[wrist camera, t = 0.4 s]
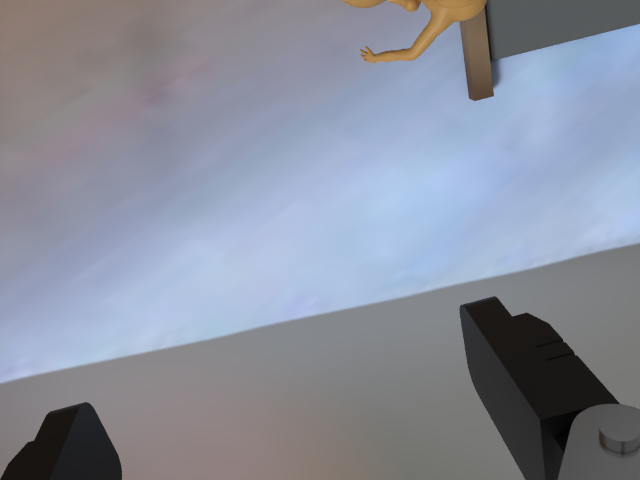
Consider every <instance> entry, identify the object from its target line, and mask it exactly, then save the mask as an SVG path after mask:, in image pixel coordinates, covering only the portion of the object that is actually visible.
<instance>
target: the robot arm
mask: <svg viewBox="0 0 640 480" xmlns="http://www.w3.org/2000/svg"><path fill="white" fill-rule="evenodd" d="M460 318H461V325H462V331H463V338H464V344H465V351H466V357H467V363H468V368H469V372H470V375H471V379H472V382H473V384H474V387H475V389H476V391H477V393H478V395H479V397H480V399H481V401H482V402H483V404H484V406H485V408H486V410H487V411H488V413H489V415H490V417H491V419H492V420H493V422H494V424H495V426H496V427H497V429H498V431H499V433H500V434H501V436H502V438H503V440H504V442H505V444H506V445H507V447H508V449H509V451H510V452H511V454H512V456H513V458H514V460H515V462H516V463H517V465H518V467H519V469H520V470H521V472H522V474H523V476H524V478H525V479H526V480H640V409H638V408H635V407H631V406H627V405H621V404H620V403H619V402H618V401H617V400H616V399H615V398H614V396H613V395H612V394H611V393H610V392H609V391H608V390H607V389H606V388H605V386H604V385H603V384H602V383H601V382H600V381H599V380H598V379H597V377H596V376H595V375H594V374H593V373H592V372H591V371H590V370H589V368H588V367H587V366H586V365H585V364H584V363H583V362H582V360H581V359H580V358H579V357H578V356H575V354H574V352H573V350H572V349H571V348H570V347H569V346H568V345H567V344H566V343H564V342H563V339H562V338H561V337H560V336H559V334H558V333H557V332H556V331H555V330H554V329H553V328H552V327H551V325H550V324H548V323H547V322H545V321H542V320H541V319H539V318H537V317H534V316H533V315H531V314H529V313H524V314H521V315H517V316H513V317H512V316H511V315H510V313H509V312H508V311H507V310H506V309H505V307H504V306H503V305H502V303H501V302H500V301H499V299H498V298H497V297H495V296H494V297H490V298H486V299H482V300H478V301H475V302H471V303H467V304H464V305H461V306H460ZM0 480H122V470H121V463H120V460H119V456H118V454H117V452H116V450H115V448H114V446H113V444H112V442H111V440H110V439H109V437H108V435H107V433H106V431H105V429H104V427H103V425H102V423H101V421H100V419H99V417H98V415H97V413H96V411H95V409H94V408H93V407H92V405H91V404H89V403H87V402H85V403H81V404H77V405H73V406H70V407H66V408H62V409H58V410H55V411H51V412H49V413H48V414H47V415H46V417H45V419H44V421H43V423H42V426H41V427H40V430H39V432H38V434H37V436H36V438H35V440H34V441H31V442H28V443H27V444H26V445H25V446H24V447H23V448H22V449H21V451H20V452H19V453H18V454H17V455H16V456H15V457H14V458H13V459H12V461H11V462H10V463H9V464H8V466H7V468H6V470H5V471H4V474H3V476H2V477H1V479H0Z"/></svg>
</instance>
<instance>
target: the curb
mask: <svg viewBox="0 0 640 480" xmlns="http://www.w3.org/2000/svg"><path fill="white" fill-rule="evenodd" d="M460 27H461V36H462V44H463V52H464V60H465V68H466V76H467V85H468V93H469V99H472V100H474V101H476V100H480V99H484V98H488V97H492V96H494V93H493V84H492V74H491V65H490V55H489V46H488V36H487V27H486V17H485V8H483V9H482V10H481V12H480V13H478V14H477V15H476V16H474V17H473V18H471V19H468V20H465V21H460Z"/></svg>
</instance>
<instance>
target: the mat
mask: <svg viewBox="0 0 640 480" xmlns="http://www.w3.org/2000/svg"><path fill="white" fill-rule="evenodd" d="M484 8H485V17H486V27H487V36H488V46H489V55H490V60H492V61H493V60H497V59H501V58H505V57H509V56H513V55H517V54H521V53H525V52H529V51H533V50H537V49H541V48H545V47H549V46H553V45H557V44H561V43H565V42H569V41H572V40H576V39H580V38H584V37H588V36H592V35H596V34H600V33H604V32H608V31H612V30H616V29H620V28H624V27H628V26H632V25H636V24H640V0H487V1H486V4H485V6H484Z"/></svg>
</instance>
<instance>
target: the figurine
mask: <svg viewBox="0 0 640 480" xmlns="http://www.w3.org/2000/svg"><path fill="white" fill-rule="evenodd" d="M342 1H343V2H345V3H347V4H348V5H351V6H353V7H358V8H369V7H373V6H376V5H379V4H380V3H382V2H384V1H385V0H342ZM387 1H389V2H391V3H394V4H398V5H400V6H402V7H403V8H404V9H406V10H407V11H409V12H414V11H416V10H417V9H418V7H419V5H420V3H421V0H387ZM486 1H487V0H422V2H423V4H424V5H425V6H426V7H427V8H428V9H429V10H430V11H431V19H430V21H429V23H428V25H427V26H426V27H425V28H424V30H423V31H422V32H421V34H420V35H419V37H418V38H417V39H416V41H415V42H414V44H413V46H412V47H411V48H409V49H402V50H396V51H395V50H392V51H385V52H382V53H379V54H373V53H372V51H371V50H370V49H369V48H368V47H366V46H365V48H366V49H367V51H368V53H367V52H365V51H363V50H361V49H360V51H361V52H362V53H363V54H364V55H362V54H361V57H363V58H365V59H364V60H365V61H366V62H369V63H376V62H390V61H398V60H404V61H411V60H415V59H416V58H418V57H419V56H420V55H421V54H422V53H423V52H424V51H425V50H426V49H427V47H428V46H429V45H430V44H431V43H432V42H433V41H434V39H435V38H436V37H437V36H438V35H439V34H440V33H441V32H443V31H444V30H445V29H447V28H448V27H449V26H450V25H451V24H452V23H454V22H458V21H465V20H468V19H471V18H473V17H474V16H476V15H477V14H478V13H480V12H481V10H482V9H483V8H484V6H485V4H486Z"/></svg>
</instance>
